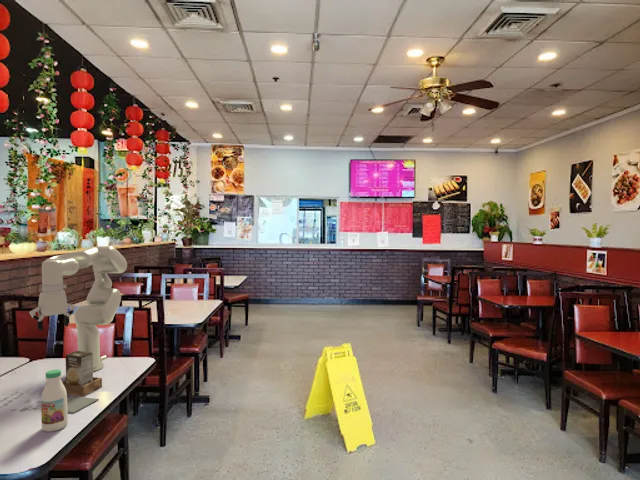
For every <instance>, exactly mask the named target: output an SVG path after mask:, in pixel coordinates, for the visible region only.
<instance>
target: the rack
mask: <svg viewBox="0 0 640 480" xmlns="http://www.w3.org/2000/svg"><path fill="white" fill-rule="evenodd" d="M102 379H103V378H102V377H99V376H98V377H96V376H93V382H91V383H88V384H86V385H84V386H76V385H67V384H66V379H65V380H62V383H63V385H64V387H65V389H66V393H67V396H68V395H70V396H77V397H85V396H87V395H88V394H90V393H92V392H93V393H94V392H95V391H96V390H99V389H102V387H103V380H102Z"/></svg>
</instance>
